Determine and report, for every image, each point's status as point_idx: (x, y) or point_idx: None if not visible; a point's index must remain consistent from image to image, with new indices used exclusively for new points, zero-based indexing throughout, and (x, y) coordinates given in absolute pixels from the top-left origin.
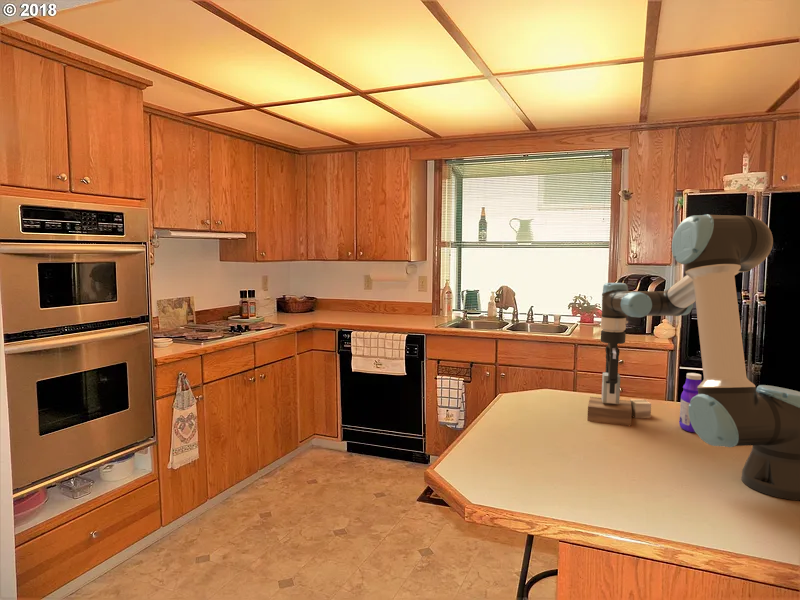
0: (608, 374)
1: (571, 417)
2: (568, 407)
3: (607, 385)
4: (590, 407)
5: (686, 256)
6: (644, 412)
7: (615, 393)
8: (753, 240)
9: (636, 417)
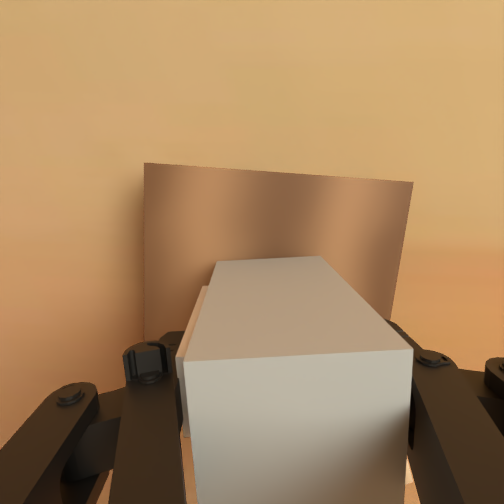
0: (150, 435)
1: (193, 78)
2: (398, 58)
3: (183, 343)
4: (144, 179)
5: None
6: None
7: None
8: None
9: None
